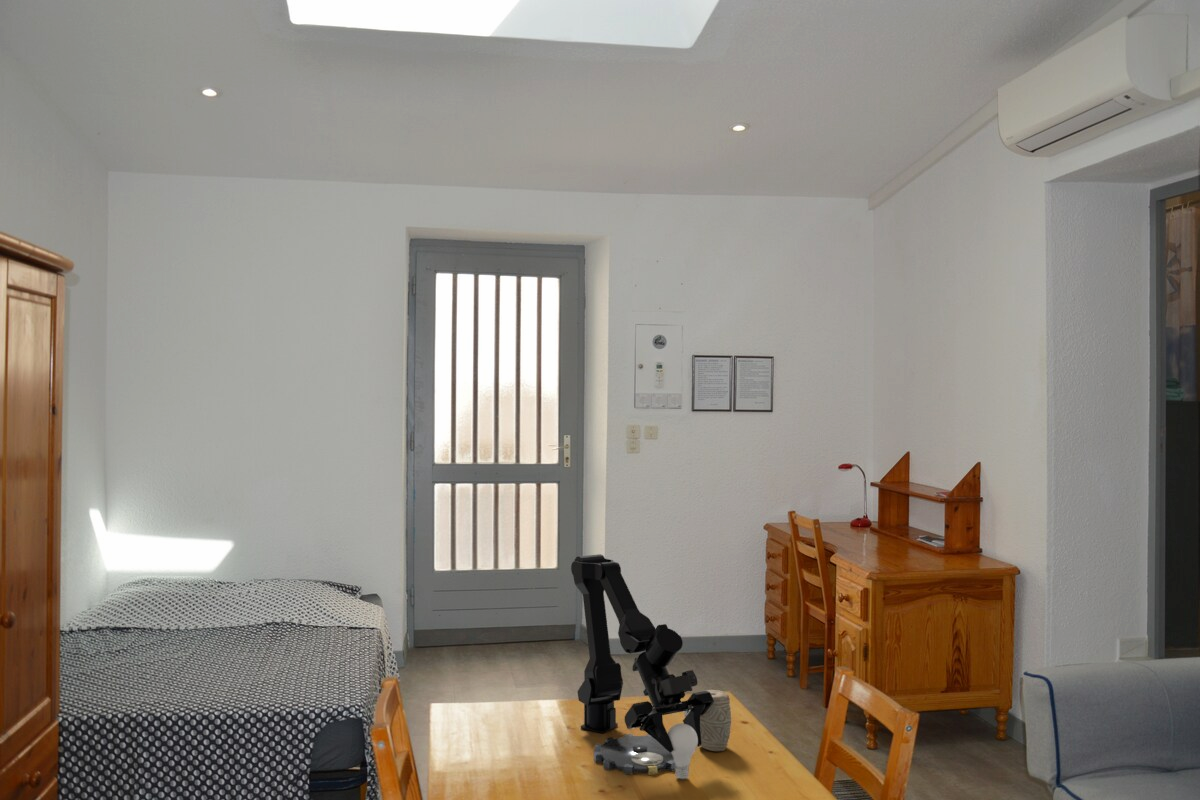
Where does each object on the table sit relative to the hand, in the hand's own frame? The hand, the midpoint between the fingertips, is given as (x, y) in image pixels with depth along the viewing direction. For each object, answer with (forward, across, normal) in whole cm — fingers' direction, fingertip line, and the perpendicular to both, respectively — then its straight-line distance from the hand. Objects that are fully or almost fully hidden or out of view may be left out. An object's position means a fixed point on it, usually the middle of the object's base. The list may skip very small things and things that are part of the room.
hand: (685, 748), depth 193 cm
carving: (-4, +16, +14) cm, 21 cm away
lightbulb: (+4, 0, +6) cm, 7 cm away
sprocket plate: (-6, -1, +16) cm, 17 cm away
